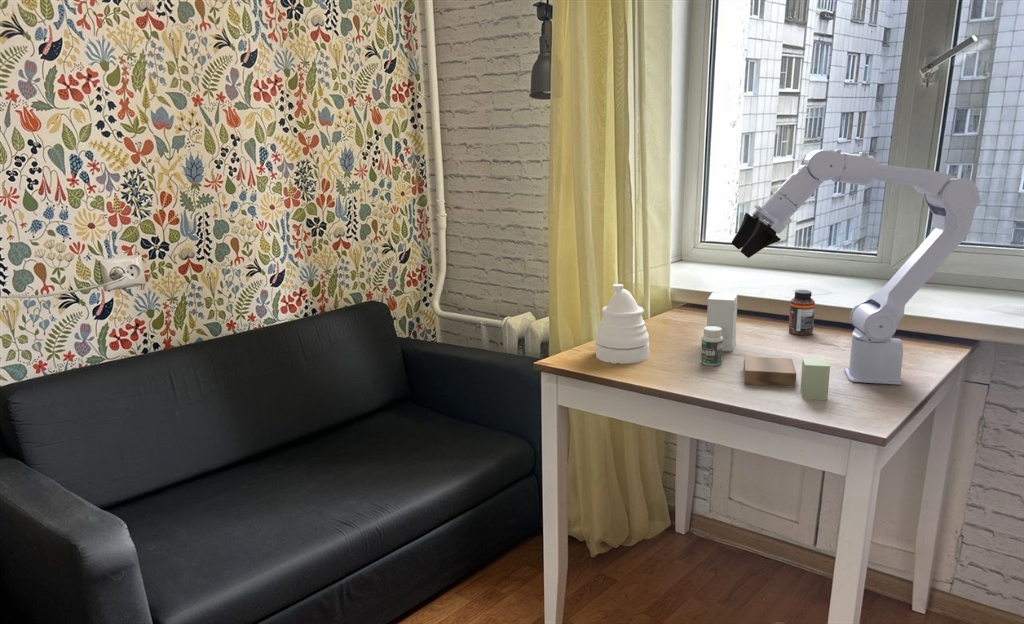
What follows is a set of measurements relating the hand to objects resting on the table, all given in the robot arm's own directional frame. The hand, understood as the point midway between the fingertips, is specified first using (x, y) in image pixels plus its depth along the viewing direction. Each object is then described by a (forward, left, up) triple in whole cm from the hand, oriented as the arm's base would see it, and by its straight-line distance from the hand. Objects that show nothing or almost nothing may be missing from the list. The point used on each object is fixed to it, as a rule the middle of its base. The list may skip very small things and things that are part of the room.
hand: (739, 250), depth 141 cm
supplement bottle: (-17, -38, -28) cm, 50 cm away
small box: (+3, -22, -28) cm, 35 cm away
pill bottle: (+5, -8, -28) cm, 29 cm away
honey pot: (+26, -10, -28) cm, 39 cm away
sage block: (-15, +9, -28) cm, 33 cm away
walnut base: (-7, 0, -28) cm, 29 cm away
